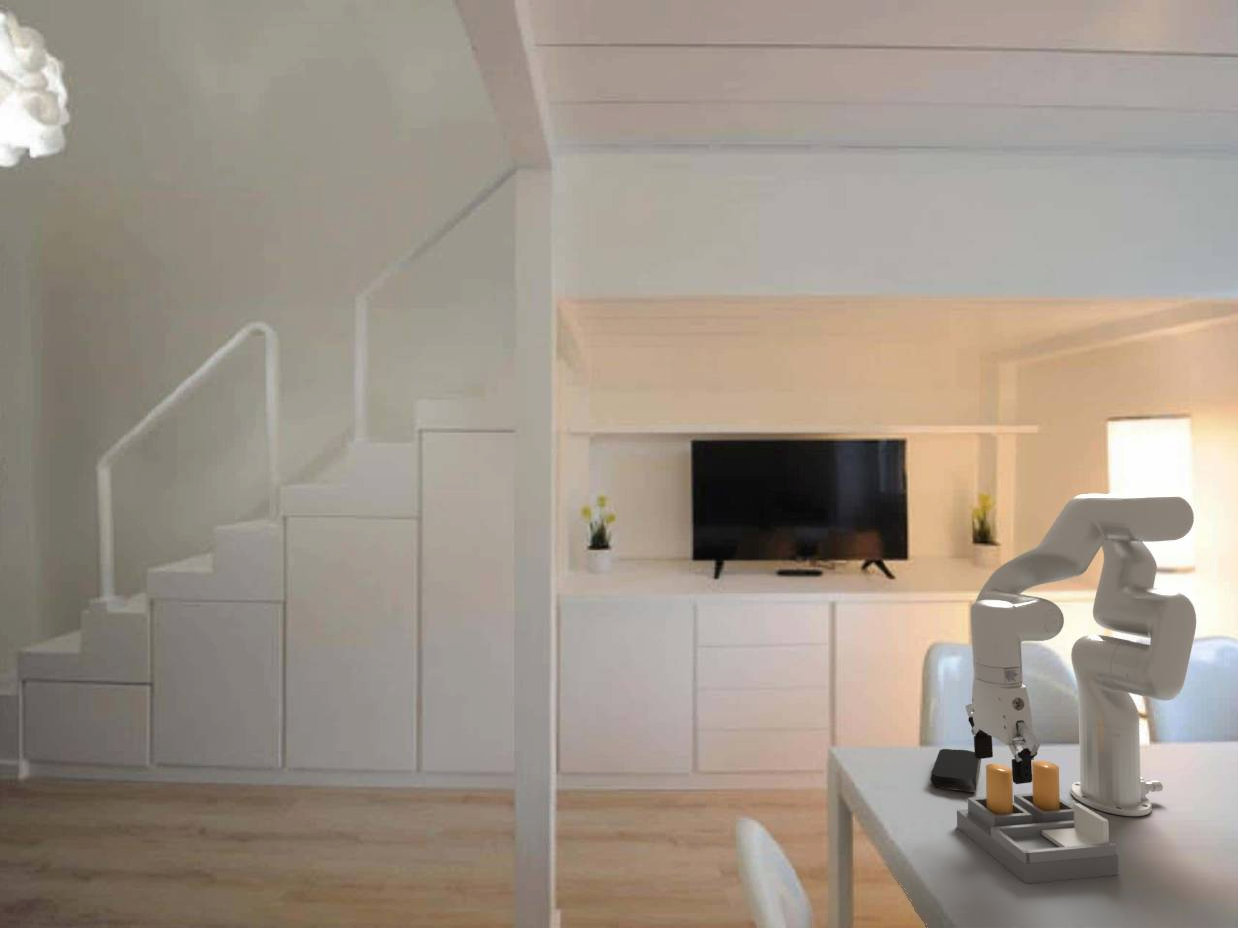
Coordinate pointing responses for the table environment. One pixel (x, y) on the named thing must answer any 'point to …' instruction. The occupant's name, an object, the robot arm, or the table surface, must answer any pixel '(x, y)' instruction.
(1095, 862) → the housing
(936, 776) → the black sponge
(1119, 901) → the table surface
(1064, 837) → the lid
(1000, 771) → the peg
